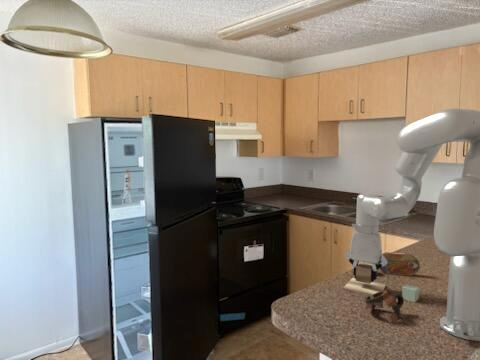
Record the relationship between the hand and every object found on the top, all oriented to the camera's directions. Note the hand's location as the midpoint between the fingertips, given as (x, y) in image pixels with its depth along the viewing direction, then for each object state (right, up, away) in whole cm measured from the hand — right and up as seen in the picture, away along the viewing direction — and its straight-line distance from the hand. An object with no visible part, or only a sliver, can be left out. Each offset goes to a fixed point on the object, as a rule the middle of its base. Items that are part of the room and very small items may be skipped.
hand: (364, 278), depth 130 cm
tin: (+18, -2, +15) cm, 23 cm away
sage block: (+12, -4, -9) cm, 16 cm away
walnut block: (0, -1, 0) cm, 1 cm away
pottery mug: (-1, -6, -20) cm, 21 cm away
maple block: (+6, -2, +15) cm, 17 cm away
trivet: (0, -3, 0) cm, 3 cm away
